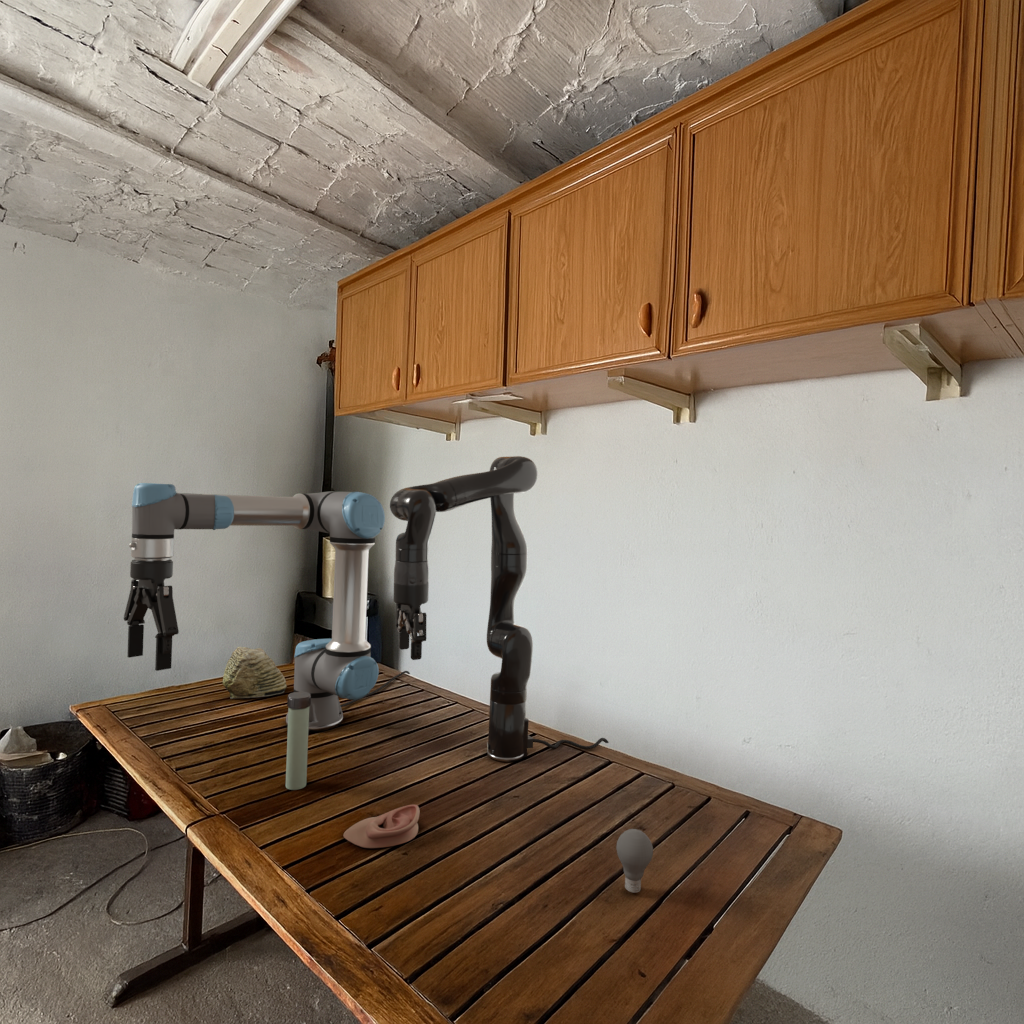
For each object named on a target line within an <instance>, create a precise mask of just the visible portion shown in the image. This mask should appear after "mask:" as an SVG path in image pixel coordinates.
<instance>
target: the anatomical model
mask: <svg viewBox="0 0 1024 1024" xmlns="http://www.w3.org/2000/svg"><path fill="white" fill-rule="evenodd" d="M420 814H421V813H420V807H419V805H417V804H408V805H404V806H400V807H397V808H395V809H392V810H390V811H388V812H385V813H383V814H380V815H378V816H372V817H367V818H364V819H361V820H360V821H358V822H356V823H354V824H353V825H351V826H350V827H348V828H347V829H346V830H345V831H344V833H343V835H342V836H343V838H344V839H345V840H346V841H348V842H349V843H352V844H353V845H355V846H358V847H360V848H364V849H380V848H388V847H395V846H399V845H402V844H405V843H407V842H410V841H412V840H414V839H415V838H416V836H417V835H418V832H419V823H418V821H419V819H420Z"/></svg>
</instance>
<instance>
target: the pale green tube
mask: <svg viewBox="0 0 1024 1024" xmlns="http://www.w3.org/2000/svg"><path fill="white" fill-rule="evenodd" d="M287 708H288V709H287V713H288V727H287V735H286V737H287V738H286V765H285V788H286V789H287V790H289V791H290V790H291V791H297V790H301V789H304V788H305V787H306V786H307V778H308V777H307V776H308V753H309V752H308V750H309V732H308V728H309V707H307V708H303V709H291V708H289V707H288V706H287Z"/></svg>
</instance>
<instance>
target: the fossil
mask: <svg viewBox="0 0 1024 1024" xmlns="http://www.w3.org/2000/svg"><path fill="white" fill-rule="evenodd" d="M222 676H223V677H222V685H223V687H224V688H225V690H226V691H228V693H229V698H230V699H250V698H264V697H271V696H275V695H281V694H284V693H285V691H286V689H287V687H288V686H287V680H286V678H285V676H284V674H283V673H282V672H281V669H279V668H278V667H277V665H276V663H275V662H274V660H273V659H272V658H271V657H270V656H269V655H268V654H267V653H266V652H265V650H264V649H263V648H260V647H258V648H251V647H247V646H246V647H245V646H238V647H237V648H236V649H235V650H233V651H232V653H231V656H230V657H229V659H228V660H227V663H226V666H225V668H224V671H223V675H222Z"/></svg>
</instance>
